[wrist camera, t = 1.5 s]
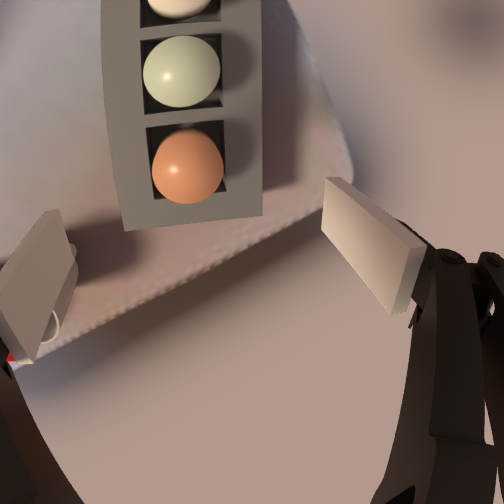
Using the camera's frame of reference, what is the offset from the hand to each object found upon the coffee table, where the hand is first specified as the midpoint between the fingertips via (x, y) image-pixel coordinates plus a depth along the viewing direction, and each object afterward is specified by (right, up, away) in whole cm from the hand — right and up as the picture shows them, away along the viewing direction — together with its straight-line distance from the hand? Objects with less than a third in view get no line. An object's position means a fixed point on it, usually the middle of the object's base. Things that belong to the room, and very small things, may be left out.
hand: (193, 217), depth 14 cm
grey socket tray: (-4, +14, +10) cm, 18 cm away
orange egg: (-3, +6, +11) cm, 13 cm away
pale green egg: (-3, +12, +7) cm, 14 cm away
